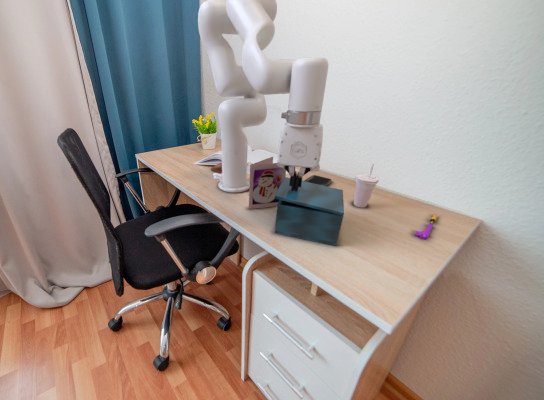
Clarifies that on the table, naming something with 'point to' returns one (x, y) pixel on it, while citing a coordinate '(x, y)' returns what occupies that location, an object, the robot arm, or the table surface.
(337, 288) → the table surface
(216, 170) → the sunglasses case
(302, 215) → the keepsake box
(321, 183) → the phone
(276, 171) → the greeting card
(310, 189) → the lid
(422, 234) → the purple bent handle tool
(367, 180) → the smoothie
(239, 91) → the robot arm
